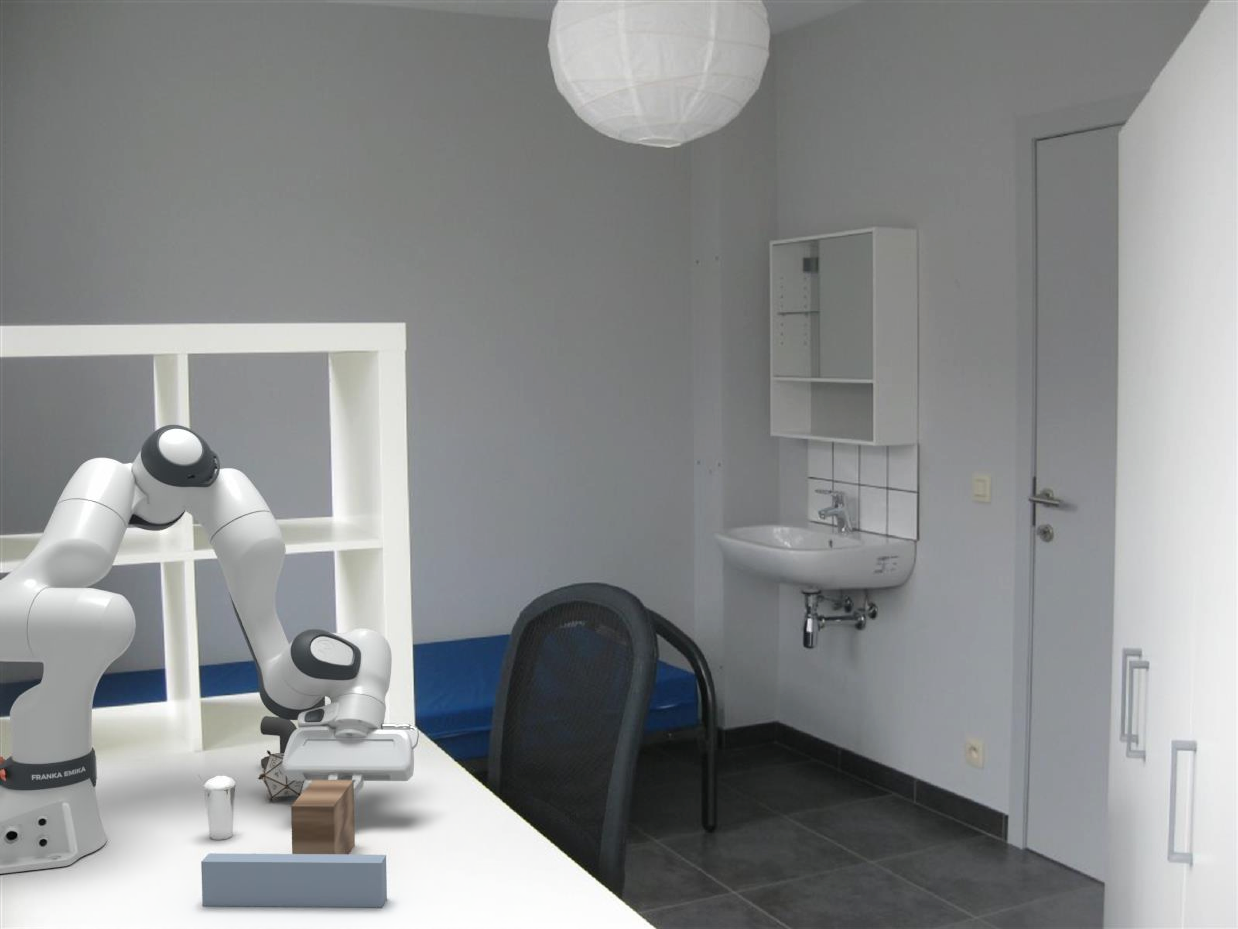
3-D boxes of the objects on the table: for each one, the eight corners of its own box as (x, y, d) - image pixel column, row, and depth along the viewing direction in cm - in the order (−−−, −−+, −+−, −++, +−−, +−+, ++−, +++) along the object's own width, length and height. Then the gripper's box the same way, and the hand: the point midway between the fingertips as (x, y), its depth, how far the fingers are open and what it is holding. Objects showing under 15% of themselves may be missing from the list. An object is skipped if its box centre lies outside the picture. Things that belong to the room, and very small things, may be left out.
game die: (291, 823, 221) (293, 786, 215) (246, 802, 223) (247, 765, 216) (320, 783, 228) (322, 746, 222) (276, 763, 230) (277, 726, 223)
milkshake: (199, 834, 206) (197, 770, 205) (235, 829, 207) (233, 766, 207) (201, 844, 201) (199, 778, 201) (238, 839, 203) (236, 774, 202)
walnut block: (335, 876, 189) (333, 806, 188) (292, 875, 189) (291, 806, 188) (354, 845, 201) (353, 780, 200) (315, 845, 201) (313, 779, 200)
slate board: (386, 898, 180) (386, 854, 180) (382, 907, 177) (381, 863, 177) (210, 897, 181) (208, 853, 181) (202, 905, 178) (201, 861, 178)
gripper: (423, 734, 216) (412, 814, 207) (297, 733, 217) (281, 813, 208) (417, 714, 212) (406, 795, 203) (288, 713, 212) (272, 794, 203)
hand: (342, 804), depth 205 cm, fingers closed
